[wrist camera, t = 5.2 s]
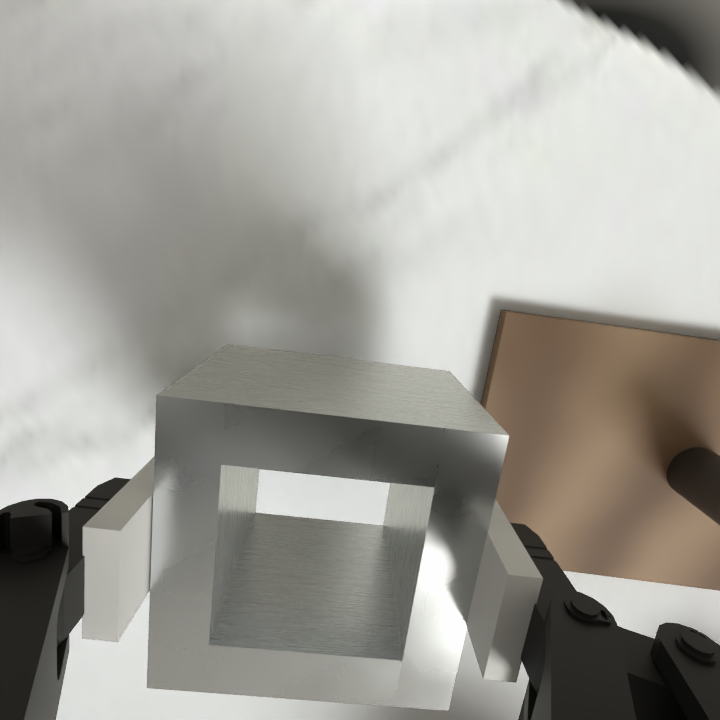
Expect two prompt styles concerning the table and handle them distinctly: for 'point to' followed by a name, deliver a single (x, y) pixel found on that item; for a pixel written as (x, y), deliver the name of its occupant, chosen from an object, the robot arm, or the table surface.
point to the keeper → (611, 445)
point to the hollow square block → (317, 530)
